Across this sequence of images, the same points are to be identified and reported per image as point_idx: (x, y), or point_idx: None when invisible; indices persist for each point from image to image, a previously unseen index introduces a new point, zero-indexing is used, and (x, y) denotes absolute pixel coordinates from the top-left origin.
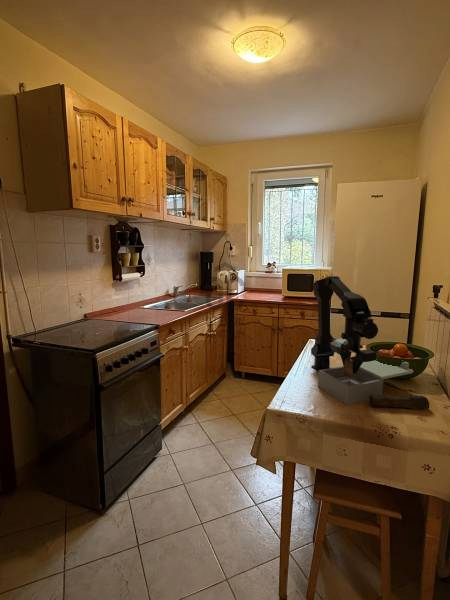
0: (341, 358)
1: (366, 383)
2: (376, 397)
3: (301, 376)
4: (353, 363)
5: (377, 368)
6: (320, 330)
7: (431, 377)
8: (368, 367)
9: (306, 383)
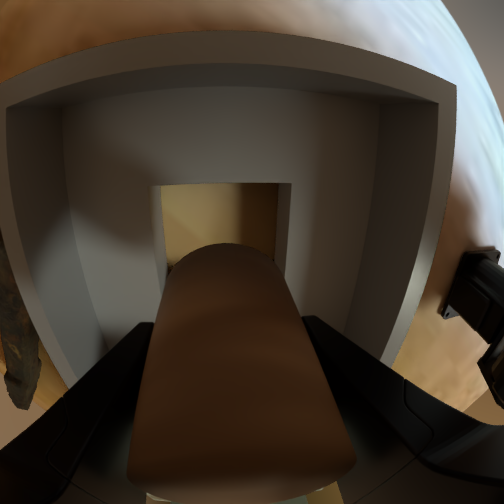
0: (430, 399)
1: (23, 299)
2: (2, 267)
3: (478, 124)
4: (68, 441)
5: None
6: None
7: None
8: None
9: (420, 68)
